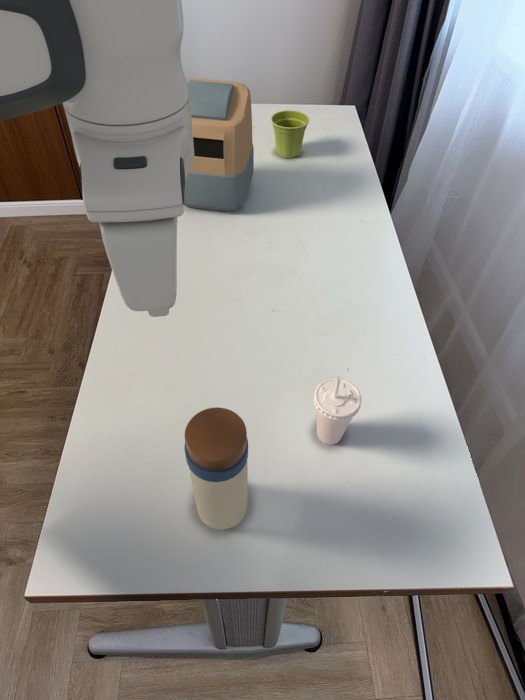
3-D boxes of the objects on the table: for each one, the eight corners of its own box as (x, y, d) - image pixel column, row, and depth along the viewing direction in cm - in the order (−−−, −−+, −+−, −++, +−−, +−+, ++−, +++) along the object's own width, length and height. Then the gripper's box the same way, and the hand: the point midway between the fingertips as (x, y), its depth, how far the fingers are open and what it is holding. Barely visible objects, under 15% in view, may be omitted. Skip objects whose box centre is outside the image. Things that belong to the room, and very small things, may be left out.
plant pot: (266, 159, 126) (267, 125, 119) (274, 141, 132) (275, 108, 125) (302, 164, 125) (305, 130, 118) (309, 146, 131) (312, 112, 124)
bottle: (226, 541, 64) (221, 486, 52) (185, 510, 67) (171, 450, 55) (258, 499, 68) (260, 438, 56) (218, 471, 71) (211, 407, 58)
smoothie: (300, 423, 76) (308, 366, 65) (337, 410, 78) (351, 351, 67) (320, 459, 72) (332, 404, 61) (359, 444, 74) (377, 387, 63)
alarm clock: (169, 210, 111) (153, 103, 93) (188, 171, 122) (177, 68, 104) (243, 219, 109) (242, 111, 92) (256, 178, 120) (257, 75, 102)
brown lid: (221, 483, 52) (220, 472, 50) (173, 450, 55) (171, 438, 53) (258, 438, 56) (258, 427, 54) (212, 409, 58) (211, 397, 56)
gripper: (98, 81, 44) (127, 215, 55) (80, 217, 31) (122, 359, 42) (171, 78, 45) (185, 211, 55) (183, 211, 32) (198, 352, 42)
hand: (158, 276), depth 48 cm, fingers open, 8 cm apart
